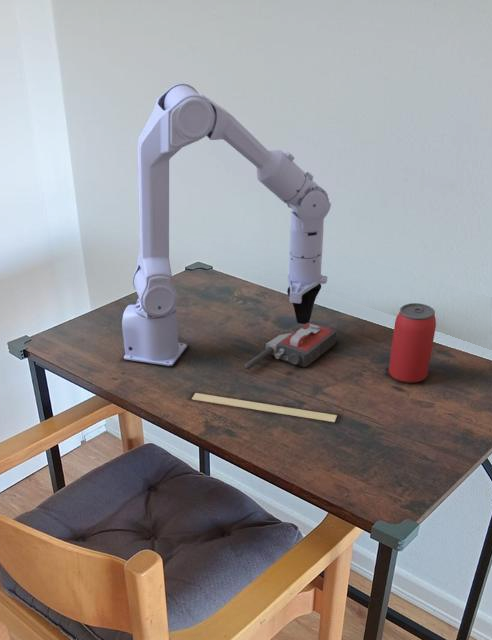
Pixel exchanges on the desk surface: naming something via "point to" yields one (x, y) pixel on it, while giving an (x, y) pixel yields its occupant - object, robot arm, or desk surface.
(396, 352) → the beer can
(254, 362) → the walkie-talkie
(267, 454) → the desk surface
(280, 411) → the tape line
